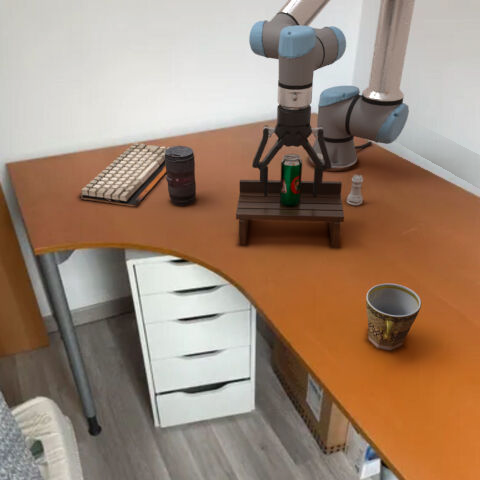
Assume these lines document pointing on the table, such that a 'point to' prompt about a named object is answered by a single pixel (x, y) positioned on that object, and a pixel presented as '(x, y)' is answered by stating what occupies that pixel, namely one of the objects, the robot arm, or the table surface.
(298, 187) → the soda can
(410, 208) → the table surface
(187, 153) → the camera lens
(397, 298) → the ceramic cup
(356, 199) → the rook chess piece
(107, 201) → the mechanical keyboard
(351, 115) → the robot arm
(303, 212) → the dark brown wooden bench
